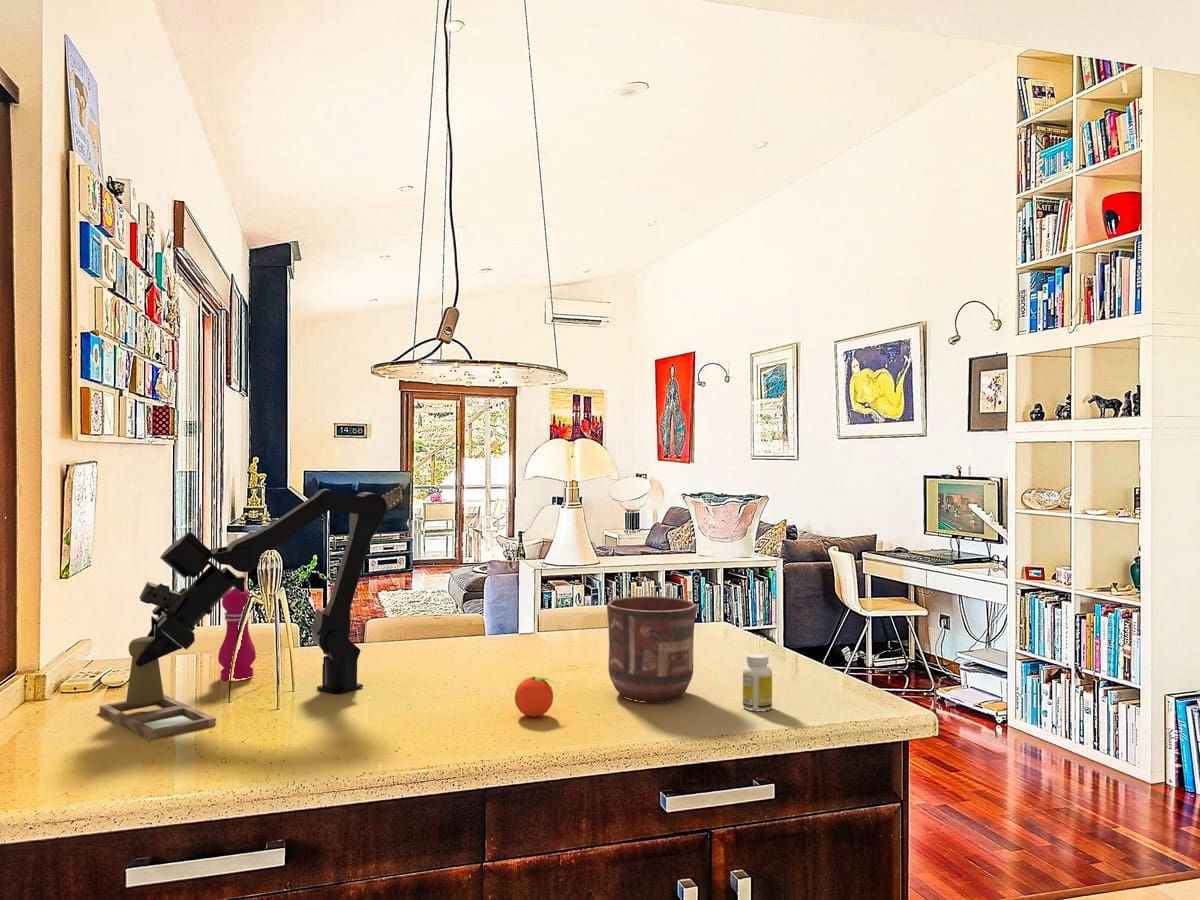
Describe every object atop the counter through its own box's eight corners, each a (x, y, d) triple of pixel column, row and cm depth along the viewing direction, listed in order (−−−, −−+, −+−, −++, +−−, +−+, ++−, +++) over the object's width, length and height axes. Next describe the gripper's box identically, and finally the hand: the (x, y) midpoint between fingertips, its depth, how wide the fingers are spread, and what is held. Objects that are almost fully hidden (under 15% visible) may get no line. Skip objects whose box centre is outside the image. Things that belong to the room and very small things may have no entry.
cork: (135, 694, 163) (134, 634, 163) (169, 693, 164) (169, 633, 164) (120, 704, 157) (119, 641, 157) (155, 703, 158) (155, 640, 158)
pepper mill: (242, 683, 181) (243, 584, 181) (210, 681, 182) (211, 582, 182) (262, 674, 188) (263, 579, 188) (231, 672, 189) (232, 578, 190)
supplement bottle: (773, 705, 169) (774, 653, 169) (769, 713, 164) (770, 659, 164) (745, 702, 170) (745, 651, 170) (740, 710, 165) (740, 657, 165)
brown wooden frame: (215, 725, 153) (215, 718, 153) (149, 739, 145) (149, 732, 145) (162, 700, 168) (162, 694, 168) (99, 712, 160) (99, 705, 160)
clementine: (556, 709, 165) (556, 671, 165) (561, 721, 158) (561, 680, 158) (512, 711, 163) (513, 672, 163) (515, 722, 157) (516, 682, 157)
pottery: (708, 689, 180) (708, 599, 180) (678, 712, 164) (678, 613, 164) (627, 680, 187) (627, 593, 187) (591, 700, 171) (591, 606, 171)
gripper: (165, 560, 170) (98, 624, 165) (173, 572, 154) (100, 643, 149) (210, 598, 174) (146, 661, 169) (222, 613, 158) (153, 684, 153)
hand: (136, 661), depth 160 cm, fingers closed on cork, 5 cm apart
